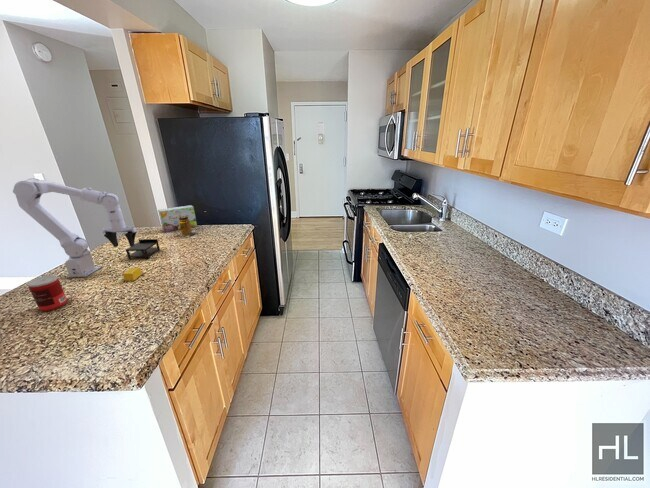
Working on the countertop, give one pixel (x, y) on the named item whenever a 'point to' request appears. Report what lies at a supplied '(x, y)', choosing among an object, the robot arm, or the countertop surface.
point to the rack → (143, 248)
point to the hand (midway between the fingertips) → (124, 246)
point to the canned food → (47, 292)
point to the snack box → (176, 217)
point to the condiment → (185, 226)
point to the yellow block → (132, 274)
